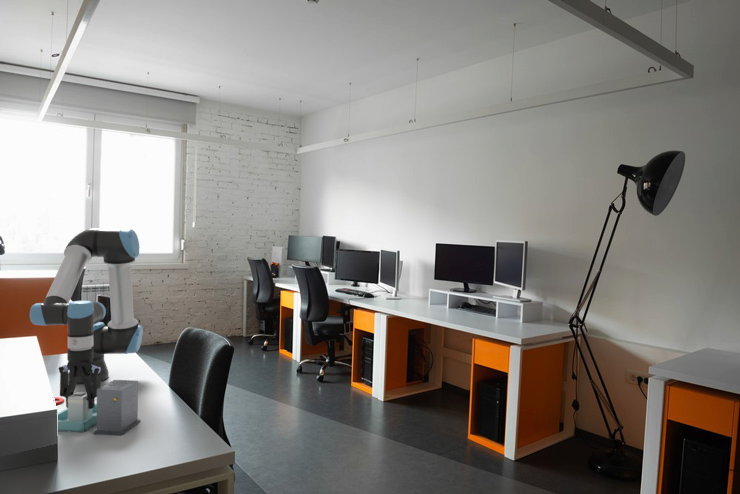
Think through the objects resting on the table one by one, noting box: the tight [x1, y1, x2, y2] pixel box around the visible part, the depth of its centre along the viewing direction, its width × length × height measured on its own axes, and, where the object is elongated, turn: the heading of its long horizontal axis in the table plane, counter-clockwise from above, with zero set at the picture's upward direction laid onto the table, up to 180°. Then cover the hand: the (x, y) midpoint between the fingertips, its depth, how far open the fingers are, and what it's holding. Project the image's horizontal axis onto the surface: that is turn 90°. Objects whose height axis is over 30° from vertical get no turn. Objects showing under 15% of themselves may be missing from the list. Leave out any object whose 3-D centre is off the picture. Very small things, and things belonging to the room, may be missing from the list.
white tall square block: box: [68, 391, 88, 421], centre depth 170 cm, size 5×5×9 cm
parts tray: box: [57, 402, 97, 433], centre depth 170 cm, size 17×13×3 cm
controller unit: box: [93, 379, 141, 436], centre depth 165 cm, size 11×9×14 cm
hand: (80, 417), depth 170 cm, fingers closed on white tall square block, 5 cm apart
